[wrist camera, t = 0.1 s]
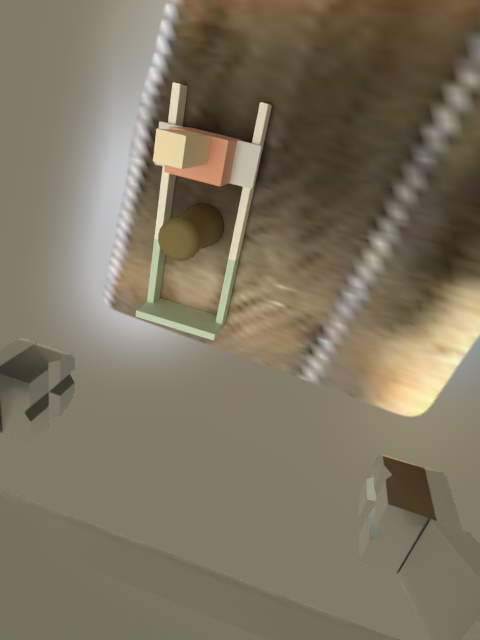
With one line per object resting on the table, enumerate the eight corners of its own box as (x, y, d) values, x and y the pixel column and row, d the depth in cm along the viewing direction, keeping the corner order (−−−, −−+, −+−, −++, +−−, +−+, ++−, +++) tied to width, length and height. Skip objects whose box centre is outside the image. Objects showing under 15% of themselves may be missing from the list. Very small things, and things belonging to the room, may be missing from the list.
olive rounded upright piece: (195, 194, 57) (163, 205, 47) (231, 218, 57) (207, 234, 47) (176, 231, 60) (142, 249, 50) (211, 254, 60) (184, 276, 50)
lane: (180, 84, 52) (160, 78, 47) (271, 105, 51) (262, 101, 45) (153, 301, 65) (135, 316, 60) (225, 323, 64) (213, 340, 59)
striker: (170, 122, 54) (108, 117, 40) (266, 145, 52) (236, 148, 38) (165, 162, 56) (105, 170, 42) (257, 186, 54) (226, 202, 40)
